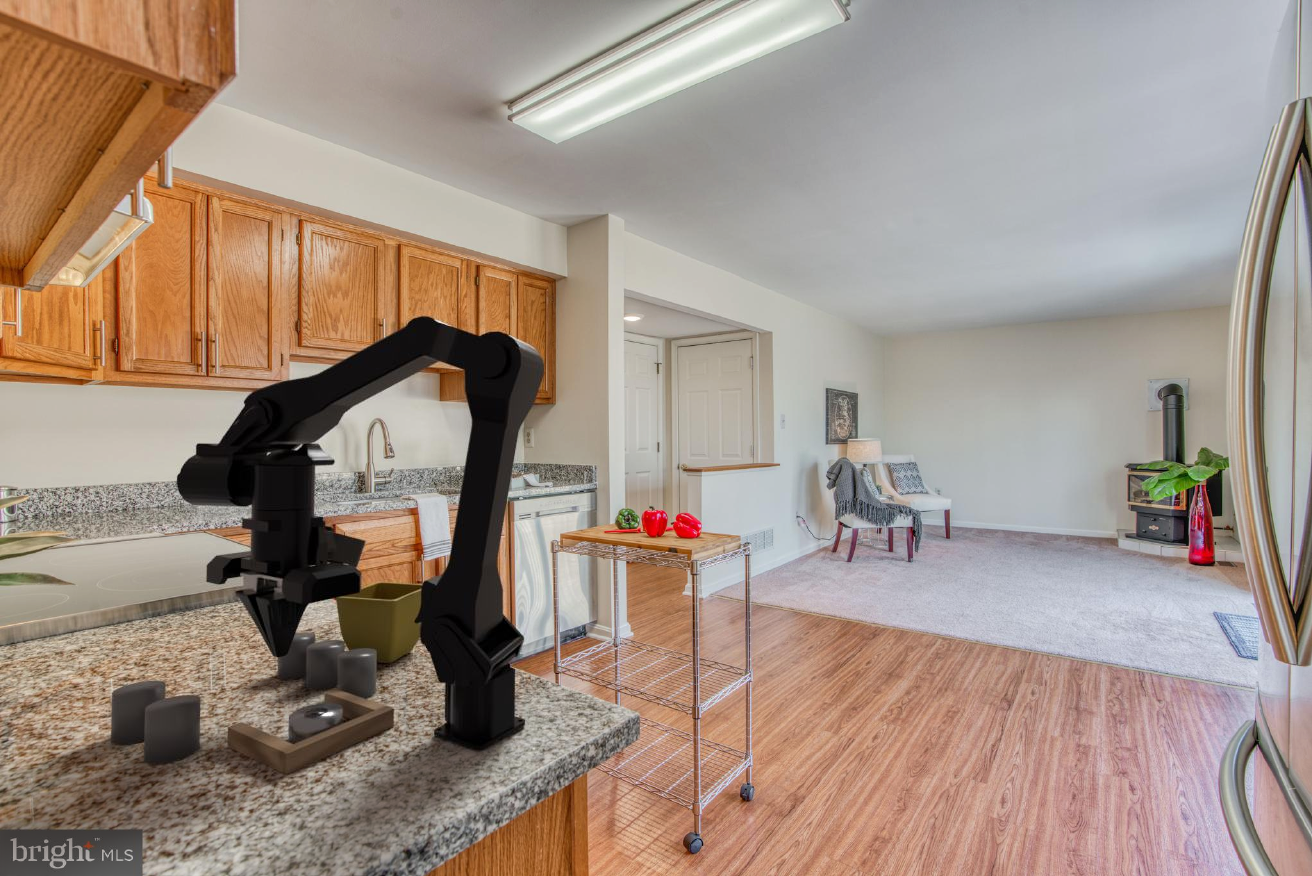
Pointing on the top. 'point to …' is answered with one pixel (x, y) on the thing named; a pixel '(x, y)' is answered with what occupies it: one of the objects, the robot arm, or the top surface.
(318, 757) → the corral
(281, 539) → the robot arm
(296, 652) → the spacers
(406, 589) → the flower pot
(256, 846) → the top surface
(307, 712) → the grey metallic short cylinder
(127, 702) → the spacers
